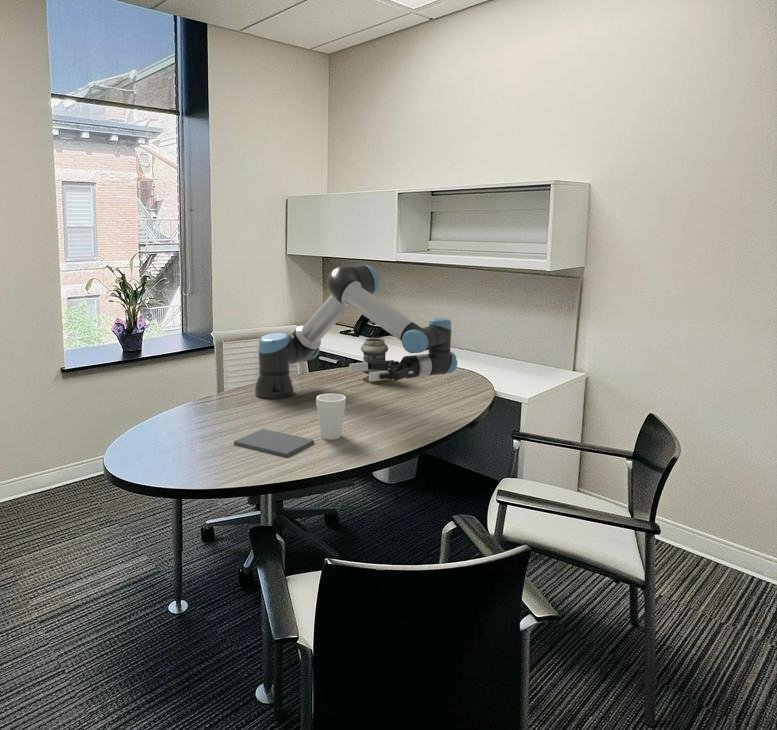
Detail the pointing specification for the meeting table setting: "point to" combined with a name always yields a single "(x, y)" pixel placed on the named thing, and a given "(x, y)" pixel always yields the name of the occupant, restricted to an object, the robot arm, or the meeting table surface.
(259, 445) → the rubber mat
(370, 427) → the meeting table surface
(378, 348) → the apothecary jar
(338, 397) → the foam cup
